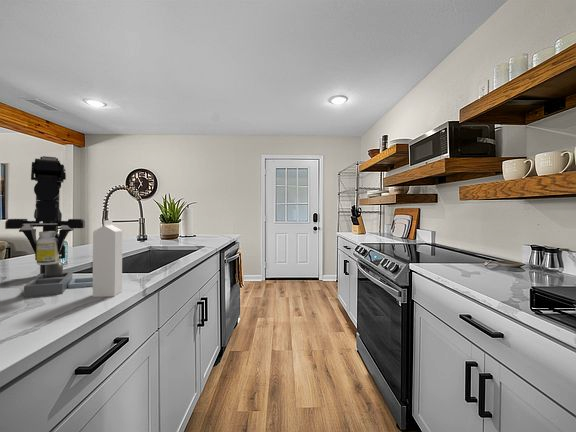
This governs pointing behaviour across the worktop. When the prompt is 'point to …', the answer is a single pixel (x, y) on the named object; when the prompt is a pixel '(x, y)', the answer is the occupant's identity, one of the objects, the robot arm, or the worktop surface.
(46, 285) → the shallow grey tray
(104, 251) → the milk
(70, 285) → the tray frame
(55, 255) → the supplement bottle
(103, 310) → the worktop surface
